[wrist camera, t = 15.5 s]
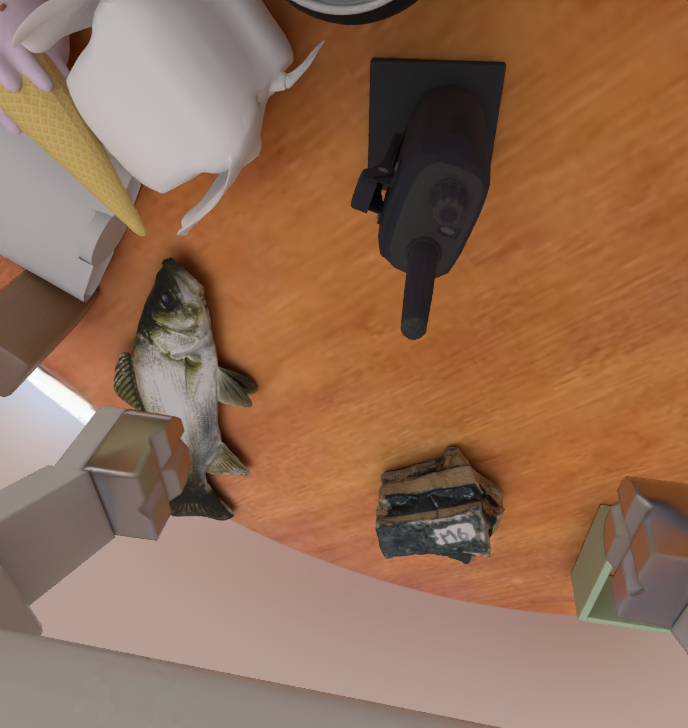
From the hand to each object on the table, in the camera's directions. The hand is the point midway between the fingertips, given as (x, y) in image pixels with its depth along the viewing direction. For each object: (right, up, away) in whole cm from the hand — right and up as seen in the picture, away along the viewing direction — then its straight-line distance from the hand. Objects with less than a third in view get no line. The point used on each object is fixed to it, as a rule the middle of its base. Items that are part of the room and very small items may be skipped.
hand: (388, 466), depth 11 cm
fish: (-7, -3, +31) cm, 32 cm away
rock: (+6, -8, +33) cm, 35 cm away
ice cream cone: (-10, +7, +16) cm, 20 cm away
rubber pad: (+3, +13, +17) cm, 22 cm away
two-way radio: (+3, +13, +17) cm, 22 cm away
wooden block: (-19, +7, +27) cm, 34 cm away
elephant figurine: (-7, +16, +17) cm, 25 cm away
